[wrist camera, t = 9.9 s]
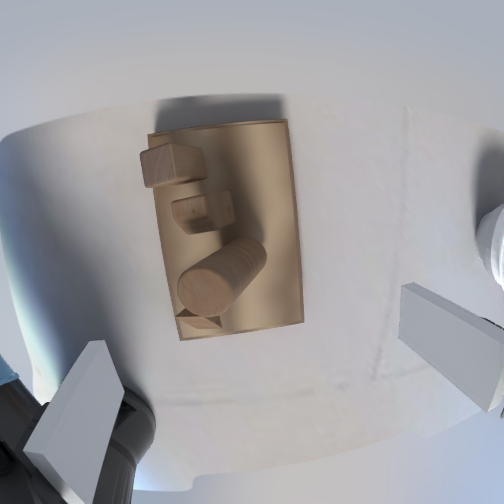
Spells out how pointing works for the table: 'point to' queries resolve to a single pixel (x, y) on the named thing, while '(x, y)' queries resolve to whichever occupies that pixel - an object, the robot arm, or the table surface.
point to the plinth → (239, 221)
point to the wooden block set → (199, 221)
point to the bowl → (492, 243)
